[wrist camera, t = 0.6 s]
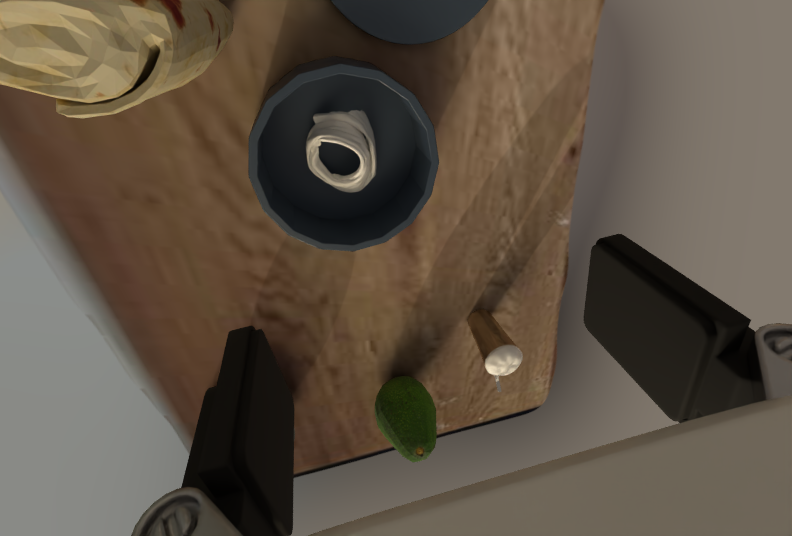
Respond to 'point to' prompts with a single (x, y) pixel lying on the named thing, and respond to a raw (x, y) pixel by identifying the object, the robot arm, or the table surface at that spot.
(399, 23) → the pot lid
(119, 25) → the food model
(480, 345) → the milkshake
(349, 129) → the whipped cream
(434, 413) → the avocado
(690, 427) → the robot arm
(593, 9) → the table surface
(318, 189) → the pot
